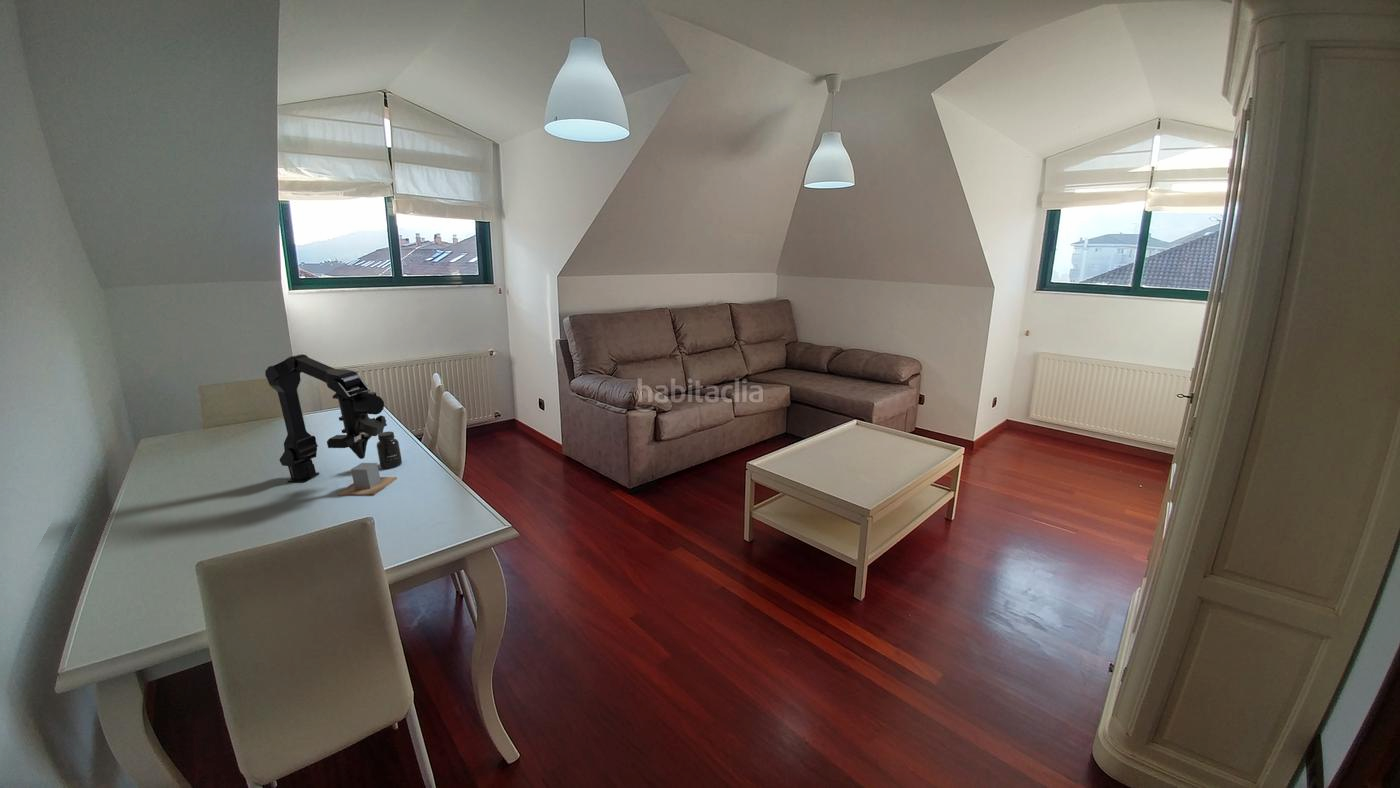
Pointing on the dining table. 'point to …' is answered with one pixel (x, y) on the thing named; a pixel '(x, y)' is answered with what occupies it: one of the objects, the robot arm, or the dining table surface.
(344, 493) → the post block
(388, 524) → the dining table surface
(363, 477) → the grey rectangular block
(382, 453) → the supplement bottle
